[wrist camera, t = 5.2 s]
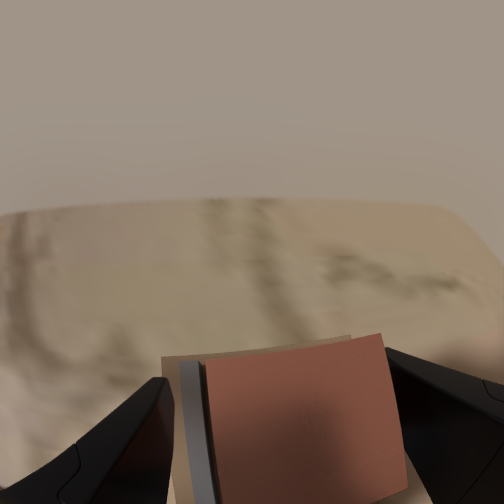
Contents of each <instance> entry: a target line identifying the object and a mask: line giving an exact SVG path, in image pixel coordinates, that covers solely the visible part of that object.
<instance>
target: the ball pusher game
mask: <svg viewBox="0 0 504 504" xmlns="http://www.w3.org/2000/svg"><path fill="white" fill-rule="evenodd" d="M350 339H351V335H346V336H340V337H335V338H329V339H324V340H318V341H312V342H306V343H300V344H293V345H286V346H279V347H271V348H264V349H255V350H246V351H237V352H227V353H216V354H203V355H189V356H170V357H161V364H162V377H167V378H168V380H169V383H170V387H171V390H172V394H173V397H174V402H175V415H174V451H173V459H172V466H171V473H172V480H173V486H174V493H175V498H176V504H222V502H223V501H222V495H221V488H220V482H219V475H218V469H217V462H216V454H215V447H214V439H213V431H212V422H211V414H210V405H209V395H208V385H207V374H206V363H205V360H206V359H218V358H229V357H239V356H248V355H257V354H265V353H273V352H280V351H287V350H294V349H300V348H307V347H313V346H319V345H324V344H330V343H335V342H340V341H345V340H350ZM370 504H379V500H378V501H375V502H373V503H370Z"/></svg>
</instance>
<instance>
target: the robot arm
mask: <svg viewBox="0 0 504 504" xmlns="http://www.w3.org/2000/svg"><path fill="white" fill-rule="evenodd" d="M385 352H386V356H387V361H388V365H389V369H390V374H391V378H392V383H393V388H394V393H395V398H396V403H397V408H398V414H399V420H400V426H401V432H402V439H403V446H404V449H405V451H406V453H407V455H408V456H409V458H410V460H411V462H412V464H413V466H414V468H415V470H416V471H417V473H418V475H419V477H420V479H421V481H422V483H423V485H424V487H425V489H426V491H427V493H428V494H429V496H430V498H431V500H432V502H433V504H504V385H502V384H498V383H494V382H491V381H488V380H484V379H483V380H482V379H481V378H478V377H475V376H471V375H468V374H465V373H462V372H459V371H456V370H453V369H450V368H447V367H443V366H440V365H437V364H434V363H432V362H429V361H426V360H423V359H420V358H417V357H414V356H411V355H408V354H405V353H403V352H400V351H397V350H394V349H391V348H388V347H385ZM174 415H175V402H174V397H173V394H172V390H171V387H170V383H169V380H168V378H167V377H153V378H151V379H150V380H149V381H148V382H147V383H145V384H144V385H143V386H142V387H141V388H140V389H138V390H137V391H136V392H135V393H134V394H133V395H131V396H130V397H129V398H128V399H127V400H126V401H124V402H123V403H122V404H121V405H120V406H118V407H117V408H116V409H115V410H114V411H113V412H111V413H110V414H109V415H108V416H107V417H105V418H104V419H103V420H102V421H101V422H99V423H98V424H97V425H96V426H95V427H93V428H92V429H91V430H90V431H89V432H87V433H86V434H85V435H84V436H82V437H81V438H80V439H79V440H78V441H76V444H75V443H74V444H73V445H71V446H70V447H69V448H68V449H66V450H65V451H64V452H62V453H61V454H60V455H59V456H57V457H56V458H55V459H53V460H52V461H50V462H49V463H47V464H46V465H44V466H43V467H41V468H40V469H38V470H37V471H35V472H33V473H32V474H30V475H28V476H27V477H25V478H23V479H22V480H20V481H18V482H17V483H15V484H13V485H11V486H10V487H8V488H6V489H4V490H2V491H0V504H166V503H167V495H168V488H169V480H170V473H171V466H172V459H173V451H174Z"/></svg>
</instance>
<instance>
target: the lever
mask: <svg viewBox="0 0 504 504" xmlns="http://www.w3.org/2000/svg"><path fill="white" fill-rule="evenodd" d="M205 363H206V374H207V385H208V395H209V405H210V414H211V422H212V431H213V439H214V447H215V454H216V462H217V469H218V475H219V482H220V488H221V495H222V501H223V502H222V504H370V503H373V502H375V501H378V500H381V499H383V498H386V497H388V496H391V495H393V494H396V493H398V492H401V491H403V490H405V489H408V479H407V469H406V461H405V453H404V446H403V439H402V432H401V426H400V420H399V414H398V408H397V403H396V398H395V393H394V388H393V383H392V378H391V374H390V369H389V365H388V361H387V356H386V352H385V348H384V344H383V340H382V336H381V333H378V334H374V335H369V336H365V337H360V338H355V339H350V340H345V341H340V342H335V343H330V344H324V345H319V346H313V347H307V348H300V349H294V350H287V351H280V352H273V353H265V354H257V355H248V356H239V357H229V358H218V359H206V360H205Z"/></svg>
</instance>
